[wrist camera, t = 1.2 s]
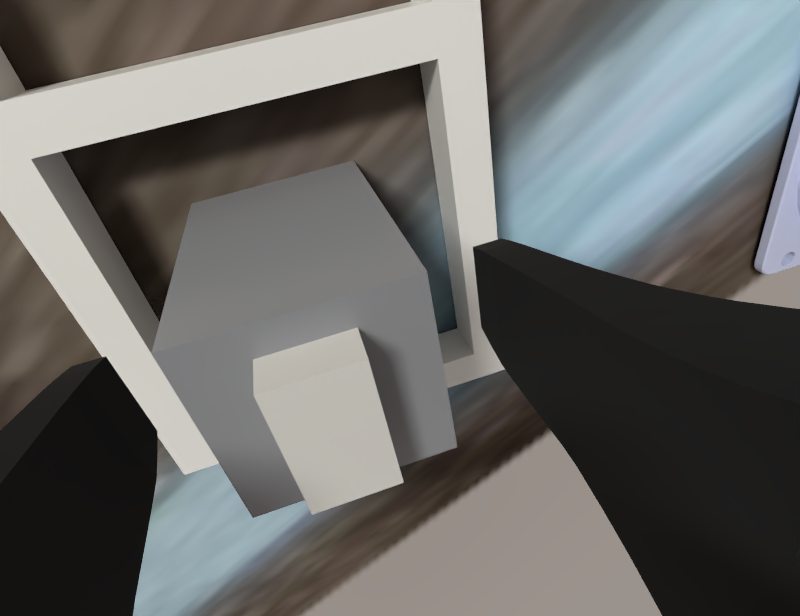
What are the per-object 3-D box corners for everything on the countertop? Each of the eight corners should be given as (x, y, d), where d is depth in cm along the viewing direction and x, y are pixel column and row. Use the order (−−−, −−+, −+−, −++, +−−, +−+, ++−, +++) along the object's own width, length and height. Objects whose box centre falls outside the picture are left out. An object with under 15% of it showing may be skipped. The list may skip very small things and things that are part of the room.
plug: (353, 160, 12) (445, 298, 6) (384, 293, 14) (473, 480, 9) (191, 203, 12) (140, 392, 6) (250, 334, 14) (253, 558, 8)
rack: (364, -934, 6) (394, -1178, 4) (488, 342, 16) (507, 368, 15) (-700, -940, 4) (-1032, -1268, 3) (189, 438, 15) (184, 474, 14)
